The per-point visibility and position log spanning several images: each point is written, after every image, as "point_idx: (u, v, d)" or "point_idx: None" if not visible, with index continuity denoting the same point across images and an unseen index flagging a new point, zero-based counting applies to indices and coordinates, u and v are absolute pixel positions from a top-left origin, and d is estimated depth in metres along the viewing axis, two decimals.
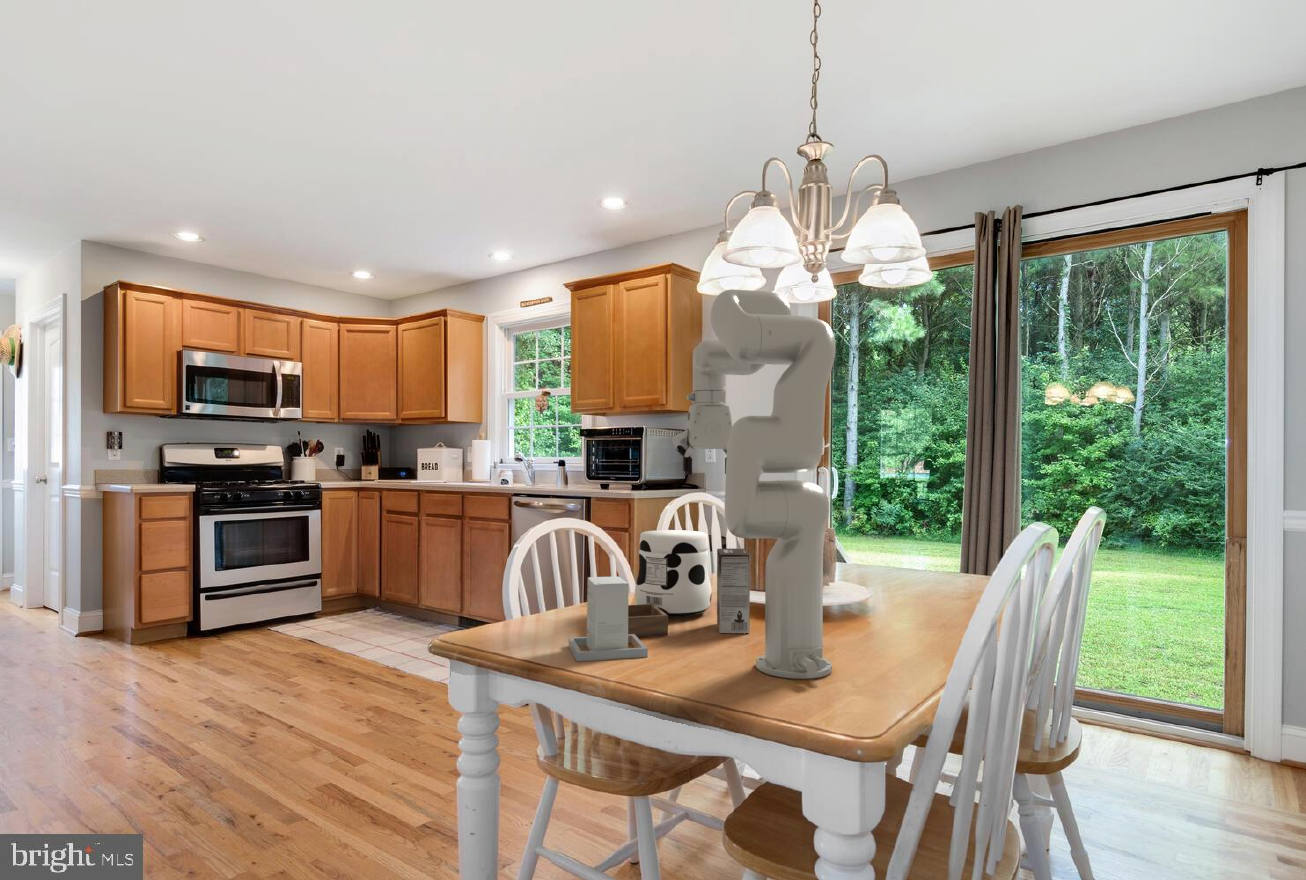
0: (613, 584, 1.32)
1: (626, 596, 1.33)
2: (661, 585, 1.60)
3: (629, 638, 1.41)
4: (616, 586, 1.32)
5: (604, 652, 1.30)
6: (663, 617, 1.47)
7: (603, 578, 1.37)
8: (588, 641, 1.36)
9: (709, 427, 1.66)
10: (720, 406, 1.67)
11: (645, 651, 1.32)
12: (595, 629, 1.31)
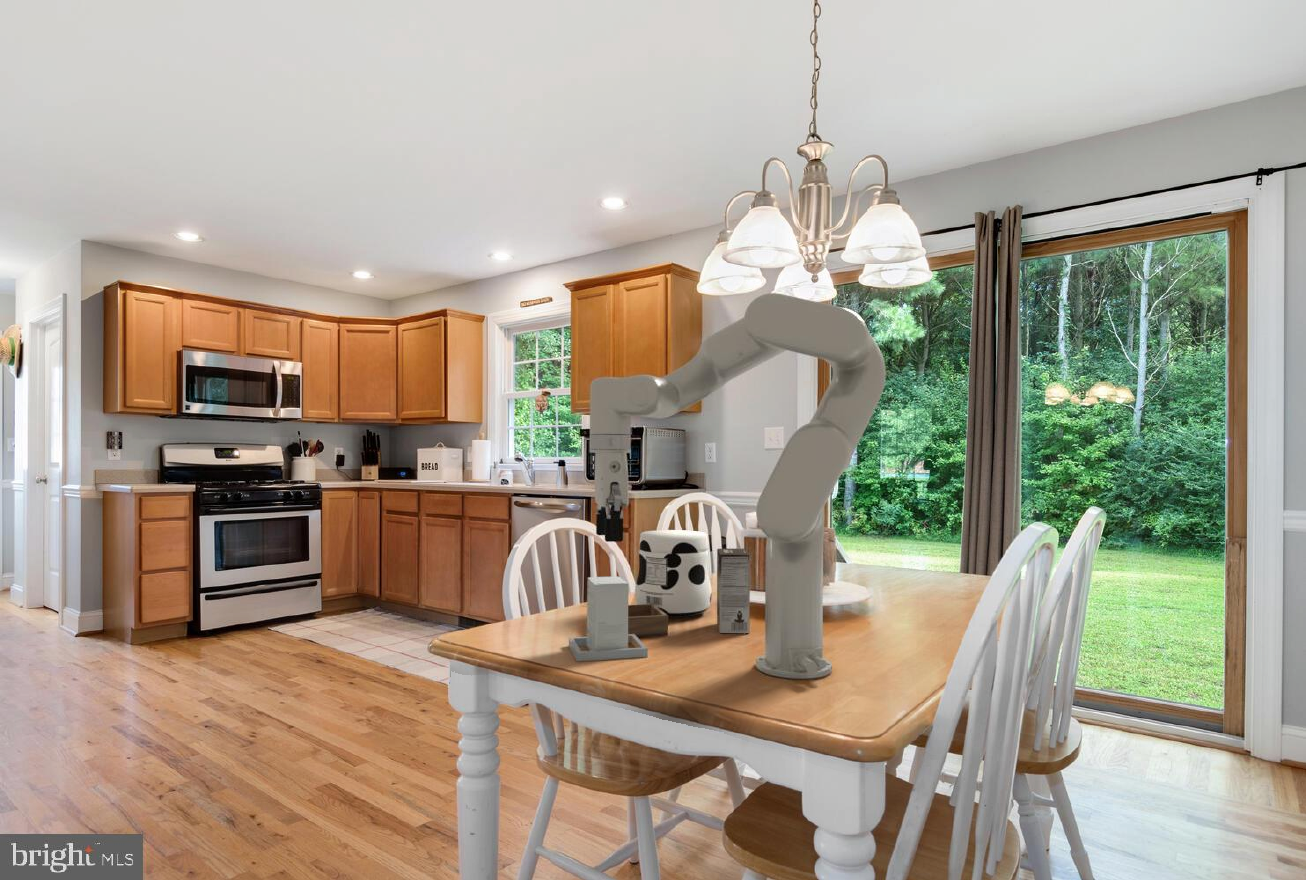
0: (613, 584, 1.32)
1: (626, 596, 1.33)
2: (661, 585, 1.60)
3: (629, 638, 1.41)
4: (616, 586, 1.32)
5: (604, 652, 1.30)
6: (663, 617, 1.47)
7: (603, 578, 1.37)
8: (588, 641, 1.36)
9: None
10: None
11: (645, 651, 1.32)
12: (595, 629, 1.31)
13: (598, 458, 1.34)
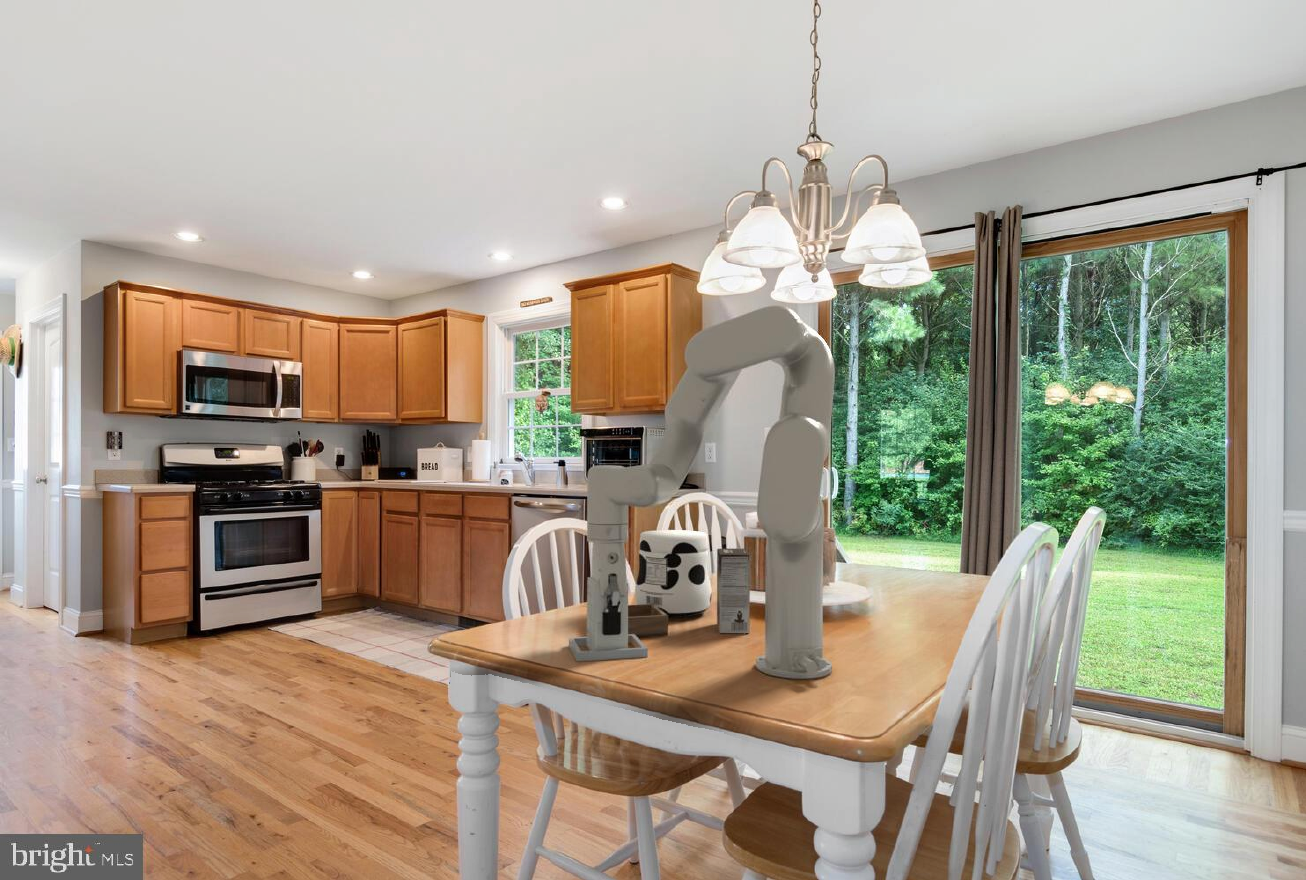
0: None
1: (626, 596, 1.33)
2: (661, 585, 1.60)
3: (629, 638, 1.41)
4: None
5: (604, 652, 1.30)
6: (663, 617, 1.47)
7: None
8: (588, 641, 1.36)
9: None
10: None
11: (645, 651, 1.32)
12: (595, 629, 1.31)
13: (596, 548, 1.33)
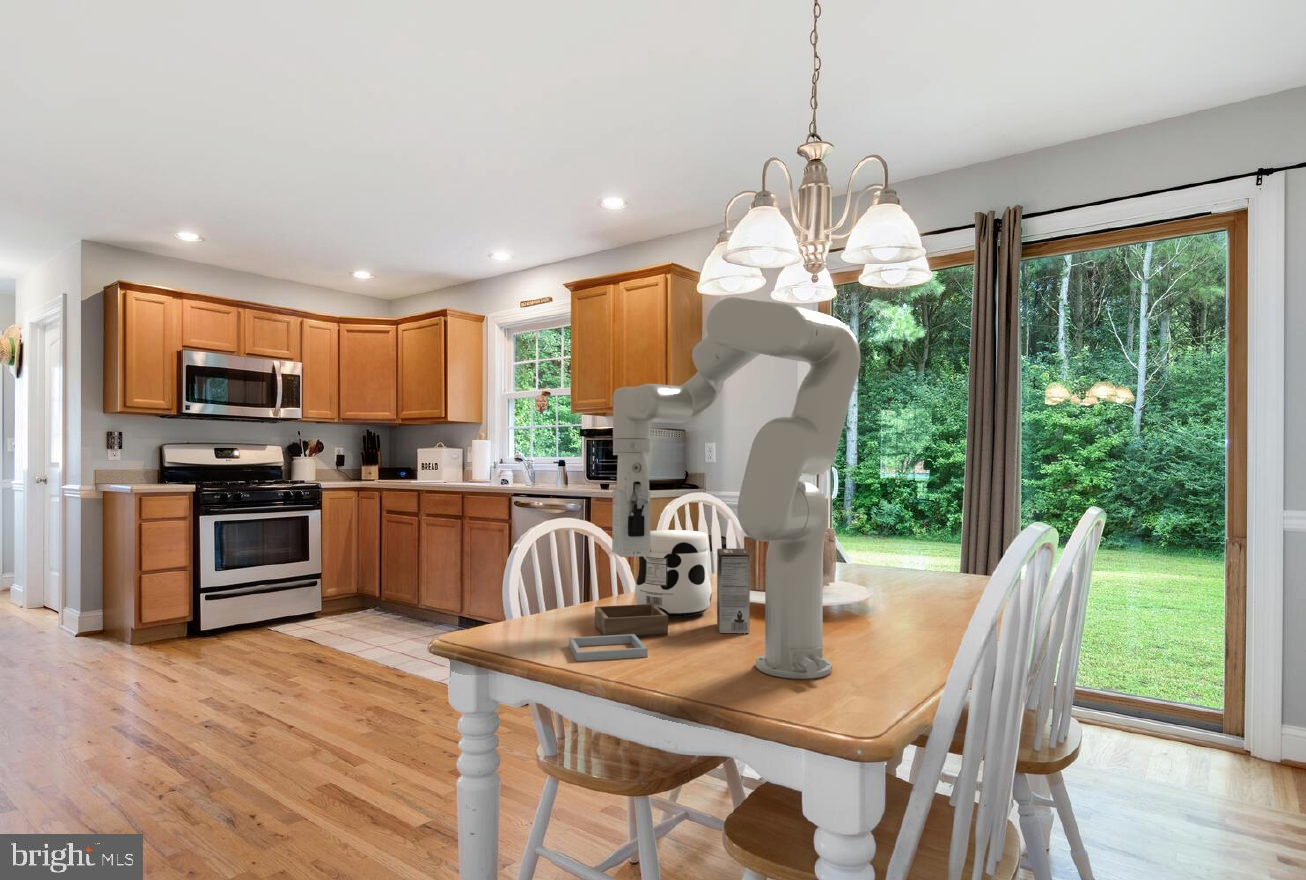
0: None
1: (648, 503, 1.48)
2: (661, 585, 1.60)
3: (629, 638, 1.41)
4: None
5: (604, 652, 1.30)
6: (663, 617, 1.47)
7: None
8: (614, 545, 1.52)
9: None
10: None
11: (645, 651, 1.32)
12: (621, 531, 1.47)
13: (621, 460, 1.49)
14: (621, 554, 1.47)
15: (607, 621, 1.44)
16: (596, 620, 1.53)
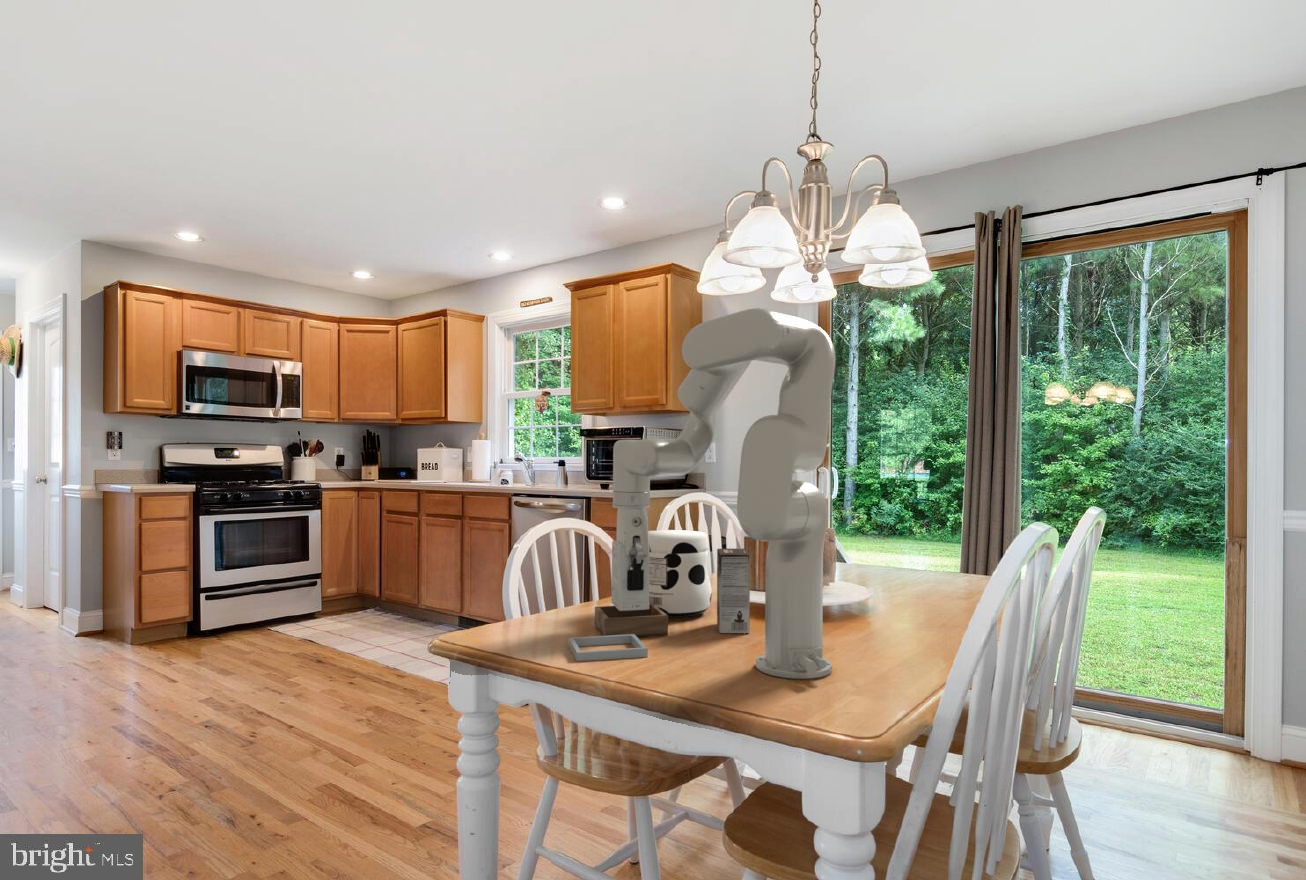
0: None
1: None
2: (661, 585, 1.60)
3: (629, 638, 1.41)
4: None
5: (604, 652, 1.30)
6: (663, 617, 1.47)
7: None
8: (613, 597, 1.52)
9: None
10: None
11: (645, 651, 1.32)
12: (620, 585, 1.47)
13: (621, 513, 1.49)
14: (620, 608, 1.47)
15: (607, 621, 1.44)
16: (596, 620, 1.53)
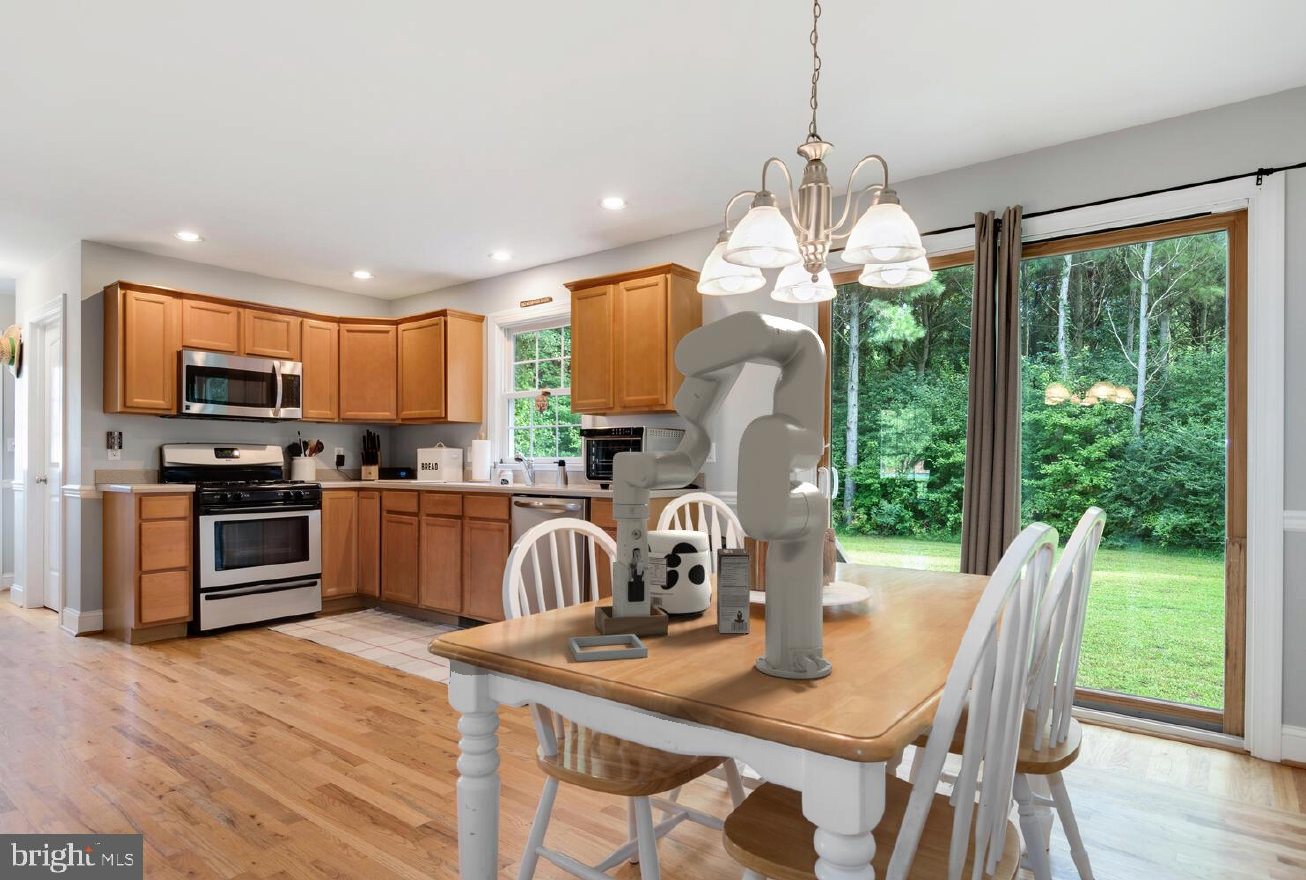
0: None
1: (648, 578, 1.48)
2: (661, 585, 1.60)
3: (629, 638, 1.41)
4: None
5: (604, 652, 1.30)
6: (663, 617, 1.47)
7: None
8: None
9: None
10: None
11: (645, 651, 1.32)
12: (621, 607, 1.46)
13: (621, 525, 1.49)
14: None
15: (607, 621, 1.44)
16: (596, 620, 1.53)
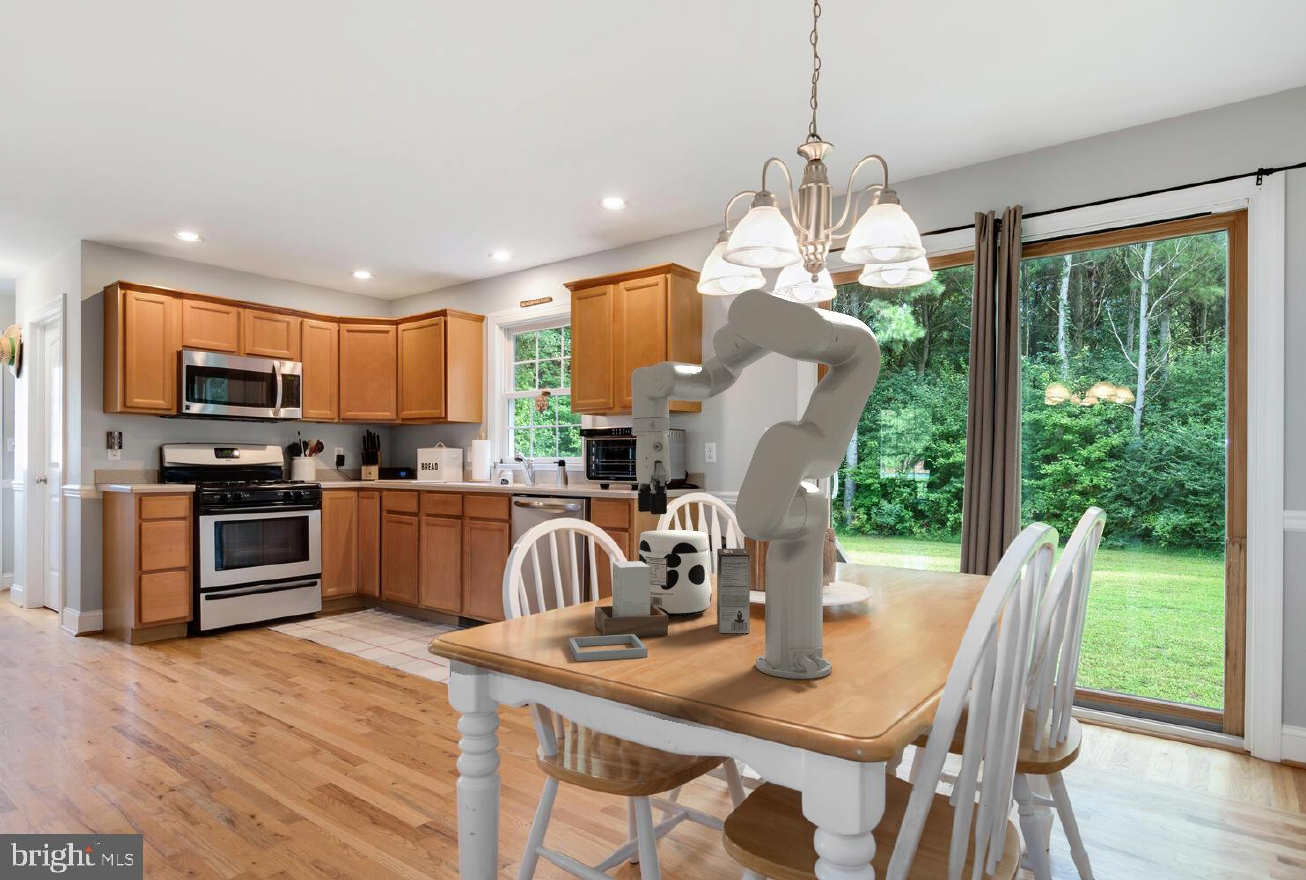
0: (637, 567, 1.47)
1: (648, 578, 1.48)
2: (661, 585, 1.60)
3: (629, 638, 1.41)
4: (640, 569, 1.47)
5: (604, 652, 1.30)
6: (663, 617, 1.47)
7: (627, 562, 1.52)
8: None
9: None
10: None
11: (645, 651, 1.32)
12: (621, 607, 1.46)
13: (641, 440, 1.48)
14: None
15: (607, 621, 1.44)
16: (596, 620, 1.53)
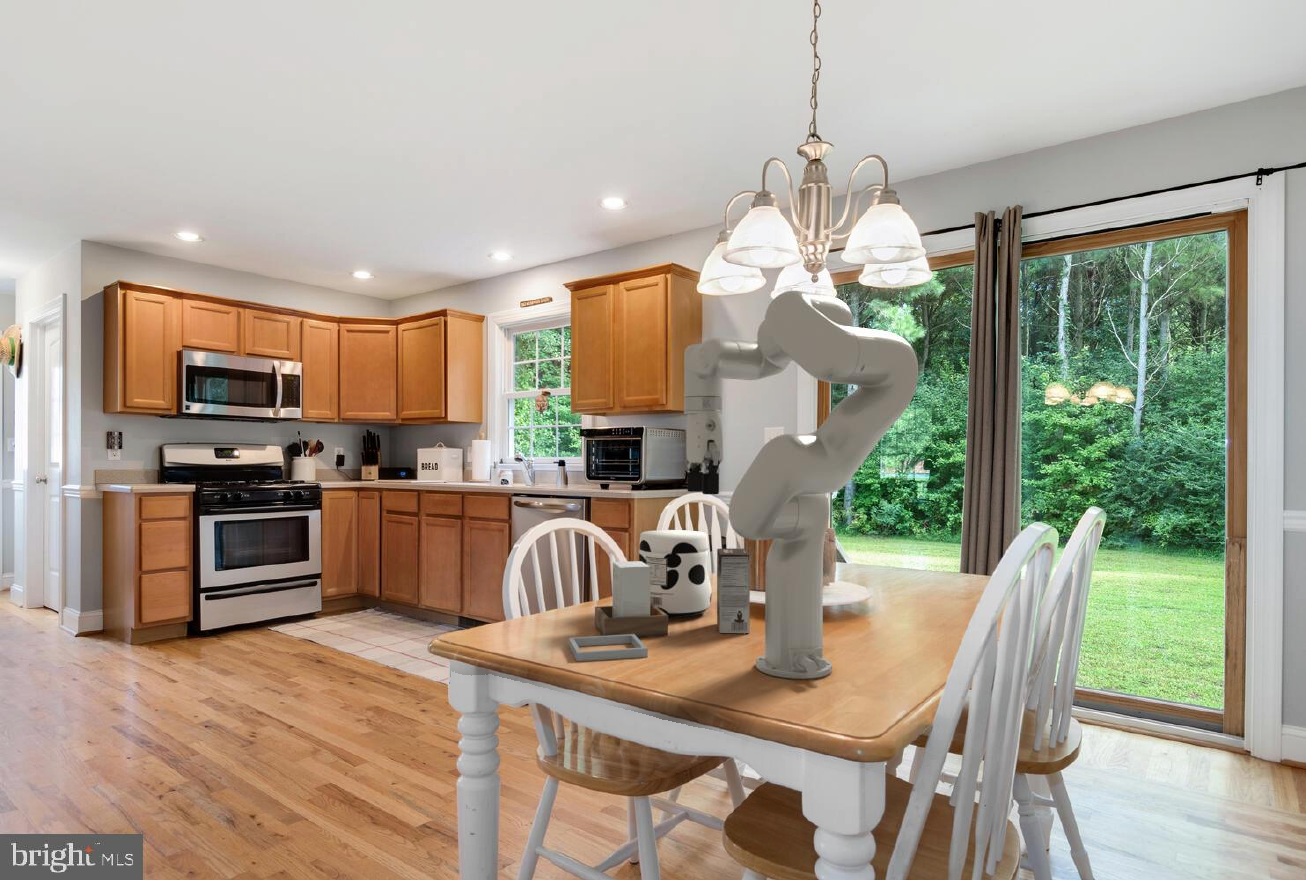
0: (637, 567, 1.47)
1: (648, 578, 1.48)
2: (661, 585, 1.60)
3: (629, 638, 1.41)
4: (640, 569, 1.47)
5: (604, 652, 1.30)
6: (663, 617, 1.47)
7: (627, 562, 1.52)
8: None
9: None
10: None
11: (645, 651, 1.32)
12: (621, 607, 1.46)
13: (694, 418, 1.46)
14: None
15: (607, 621, 1.44)
16: (596, 620, 1.53)
